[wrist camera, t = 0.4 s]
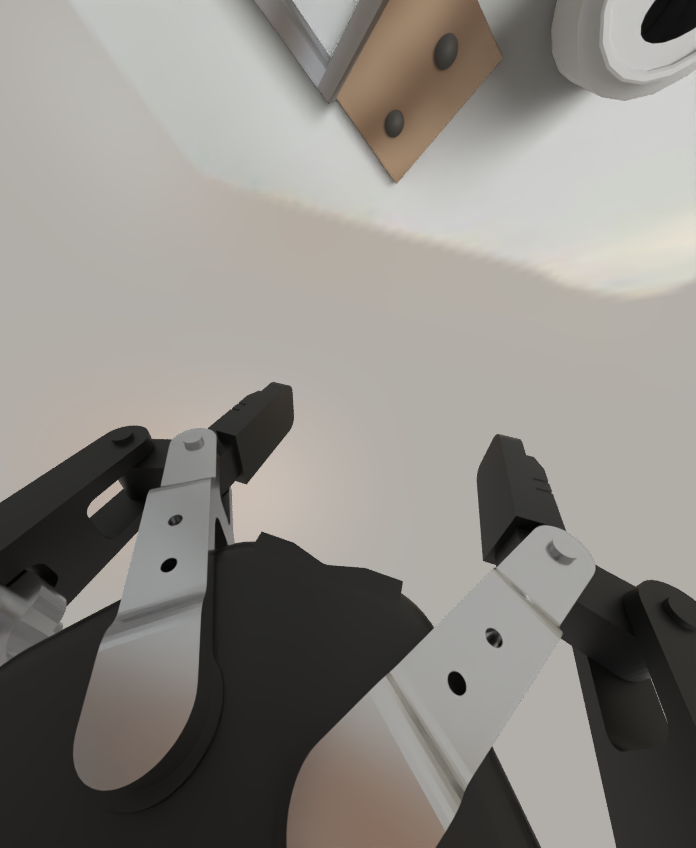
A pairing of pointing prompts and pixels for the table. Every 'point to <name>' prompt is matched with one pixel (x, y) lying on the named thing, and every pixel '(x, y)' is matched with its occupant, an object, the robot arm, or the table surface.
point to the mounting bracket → (396, 68)
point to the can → (624, 44)
